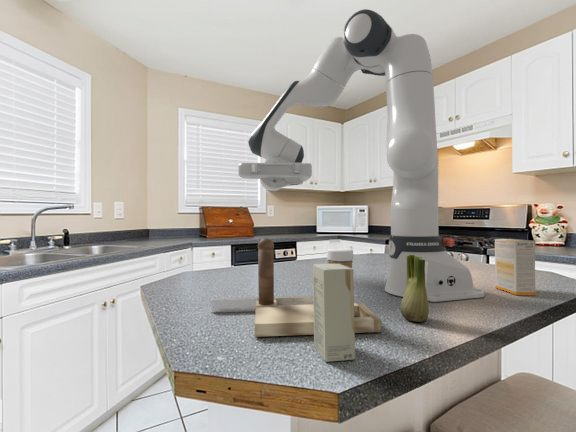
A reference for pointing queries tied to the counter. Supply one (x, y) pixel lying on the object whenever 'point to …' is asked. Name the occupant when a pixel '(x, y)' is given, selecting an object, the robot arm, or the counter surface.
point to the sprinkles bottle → (340, 256)
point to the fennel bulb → (415, 291)
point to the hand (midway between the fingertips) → (276, 166)
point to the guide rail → (250, 302)
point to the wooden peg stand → (293, 317)
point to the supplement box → (515, 266)
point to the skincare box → (334, 311)
